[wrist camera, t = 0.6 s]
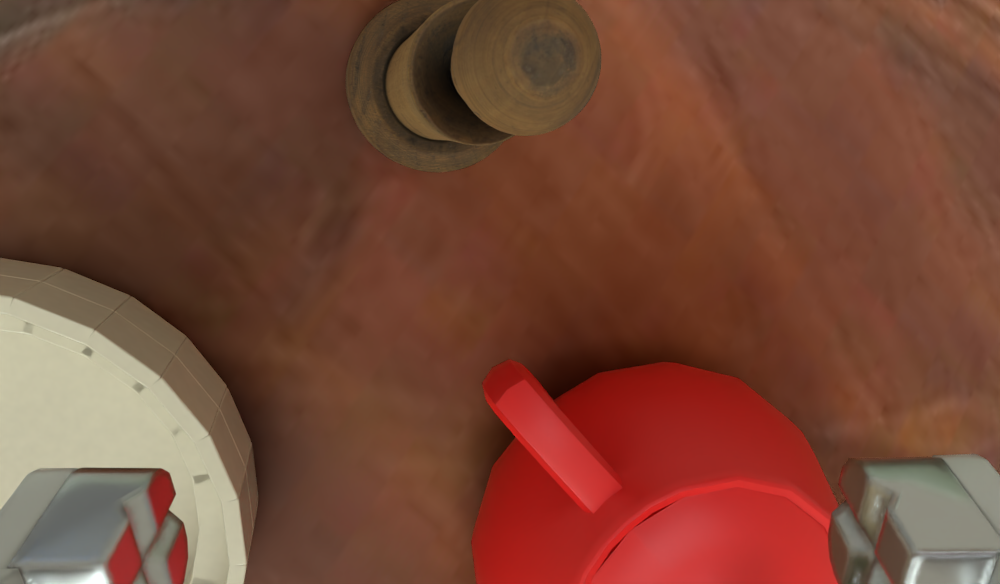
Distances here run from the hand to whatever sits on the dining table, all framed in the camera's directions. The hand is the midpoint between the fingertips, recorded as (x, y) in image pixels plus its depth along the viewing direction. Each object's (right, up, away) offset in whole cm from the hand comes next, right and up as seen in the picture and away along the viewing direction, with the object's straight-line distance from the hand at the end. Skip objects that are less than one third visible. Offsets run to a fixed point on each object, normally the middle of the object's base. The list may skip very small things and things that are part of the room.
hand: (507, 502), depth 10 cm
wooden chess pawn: (-3, +11, +23) cm, 25 cm away
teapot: (+6, -8, +29) cm, 30 cm away
